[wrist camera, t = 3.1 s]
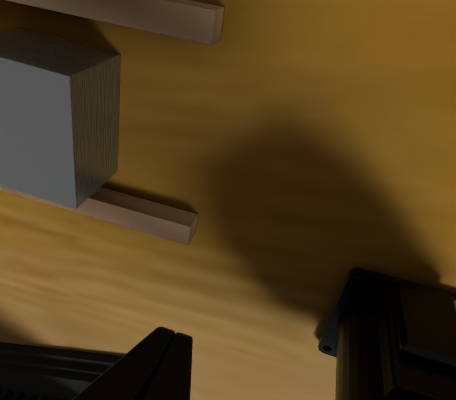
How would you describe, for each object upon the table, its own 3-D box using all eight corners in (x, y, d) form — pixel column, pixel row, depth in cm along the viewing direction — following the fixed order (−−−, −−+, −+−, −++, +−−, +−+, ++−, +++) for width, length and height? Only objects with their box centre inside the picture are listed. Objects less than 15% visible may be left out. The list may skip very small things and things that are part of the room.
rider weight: (119, 169, 21) (76, 209, 17) (35, 143, 21) (-23, 177, 18) (122, 53, 17) (69, 76, 14) (21, 27, 18) (-52, 42, 15)
